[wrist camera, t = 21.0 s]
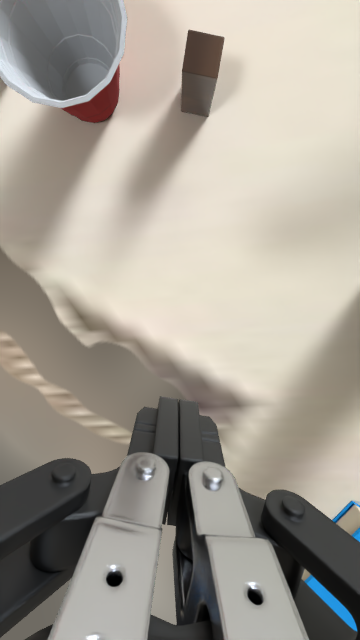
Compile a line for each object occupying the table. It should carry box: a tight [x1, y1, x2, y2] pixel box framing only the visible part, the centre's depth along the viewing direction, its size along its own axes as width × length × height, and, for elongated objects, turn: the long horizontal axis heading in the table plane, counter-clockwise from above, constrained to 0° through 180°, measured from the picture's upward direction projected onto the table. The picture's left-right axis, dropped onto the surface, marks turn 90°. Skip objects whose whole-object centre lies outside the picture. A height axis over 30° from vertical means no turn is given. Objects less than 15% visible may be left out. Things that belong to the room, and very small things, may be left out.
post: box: [181, 30, 224, 117], centre depth 30 cm, size 3×3×8 cm
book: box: [302, 501, 360, 631], centre depth 47 cm, size 17×4×25 cm
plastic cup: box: [0, 0, 127, 123], centre depth 27 cm, size 11×11×12 cm
